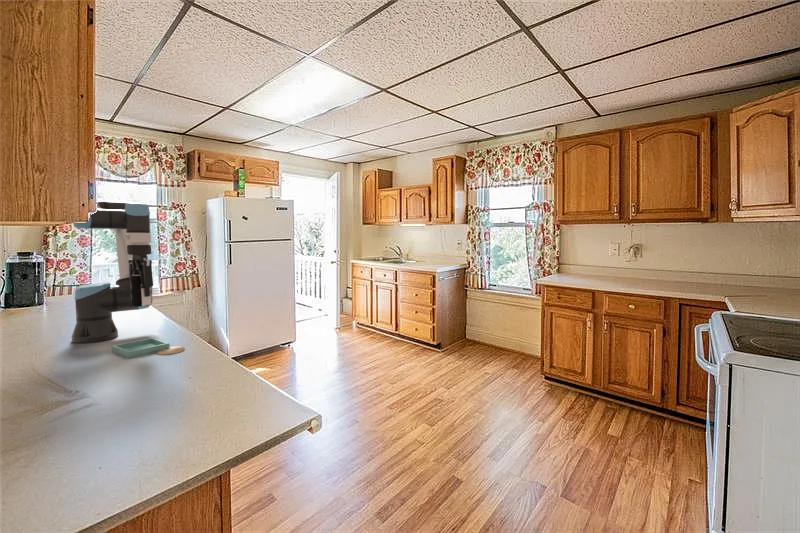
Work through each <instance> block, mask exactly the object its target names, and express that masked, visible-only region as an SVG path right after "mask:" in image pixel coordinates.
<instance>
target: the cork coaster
mask: <svg viewBox="0 0 800 533" xmlns="http://www.w3.org/2000/svg"><path fill="white" fill-rule="evenodd" d="M183 350H184V351H185V347H184V346H179V345H178V346H170V348H167V349H162V350H158V351H156V352H155V353H156V354H157V355H160V356H168V355H175V354H179V353H182V352H183Z"/></svg>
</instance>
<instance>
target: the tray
mask: <svg viewBox="0 0 800 533" xmlns="http://www.w3.org/2000/svg"><path fill="white" fill-rule="evenodd" d="M170 347H171V346H170V343H169V342H167V341H165V340H162V339H158V338H155V337H148V338H143V339H139V340H133V341H129V342H123V343H118V344H113V345H111V352H112V353H114V354H116V355H118V356H121V357H122V358H125V359H131V358H137V357H141V356H145V355H149V354H150V355H151V354H153V353H156V351H158V350H162V349H167V348H170Z"/></svg>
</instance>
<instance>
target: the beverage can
mask: <svg viewBox="0 0 800 533" xmlns="http://www.w3.org/2000/svg"><path fill="white" fill-rule="evenodd" d="M130 282H131V301H132V305H133V306H136V307H139V306H142V295H141V288H140V287H141V286H142V282H141V278H140V275H134V274H133V275H132V277H131V279H130ZM150 296H151V305H152V304H153V286H151V288H150ZM144 306H148V305H144Z"/></svg>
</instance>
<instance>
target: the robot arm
mask: <svg viewBox="0 0 800 533" xmlns="http://www.w3.org/2000/svg"><path fill="white" fill-rule="evenodd" d="M96 200H97V212H96V213H94V214H92V215H91V216H90V218H89V221H88V222H86V223H73V227H74V228H76V229H83V230H88V229H89V230H90V229H91V230H102V229H103V230H111V231H112V232H114V234H115V236H114V237H115V243H116V244H115V245H116V254H117V256H116V257H117V262H118V263H117V266H118V273H119V278H118V279H117V280H115V284H111V283H110V281H105V282H95V283H90V284H84V285H82V286H81V285H80V286H79V287H77V288H75V291H74V303H75V320H76V323H75V324H74V328H73V331H72V334H71V342H72V343H76V344H87V343H89V344H90V343H97V342H102V341H103V342H104V341H108V340H111V339H115V338H117V337H118V336H119V330H118V328H117V326H116V324H115V322H114V319H113V316H112V314H113V313H115V312H116V313H117V312H127V311H139V310H144V309H148V308H150V306H151V305H152V304H151V296H150V288H151V286H152V287H154V279H153V267H152V265H153V261H152V259H148V256H147V255H152V245H151V243H152V237H151V236H152V235H151V234H152V233H151V222H150V220H151V219H150V216H151V215H150V214H151V212H150V207H149V204H147V203H141V202H135V201H129V200H127V201H122V200H107V199H106V200H105V199H96ZM133 274H134V275H140V278H141V282H142V286H141V287H140V288H141V295H142V306H139V307H136V306H133V305H132V301H131V282H130V279H131V277H132V275H133ZM144 305H148V306H144Z"/></svg>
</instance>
